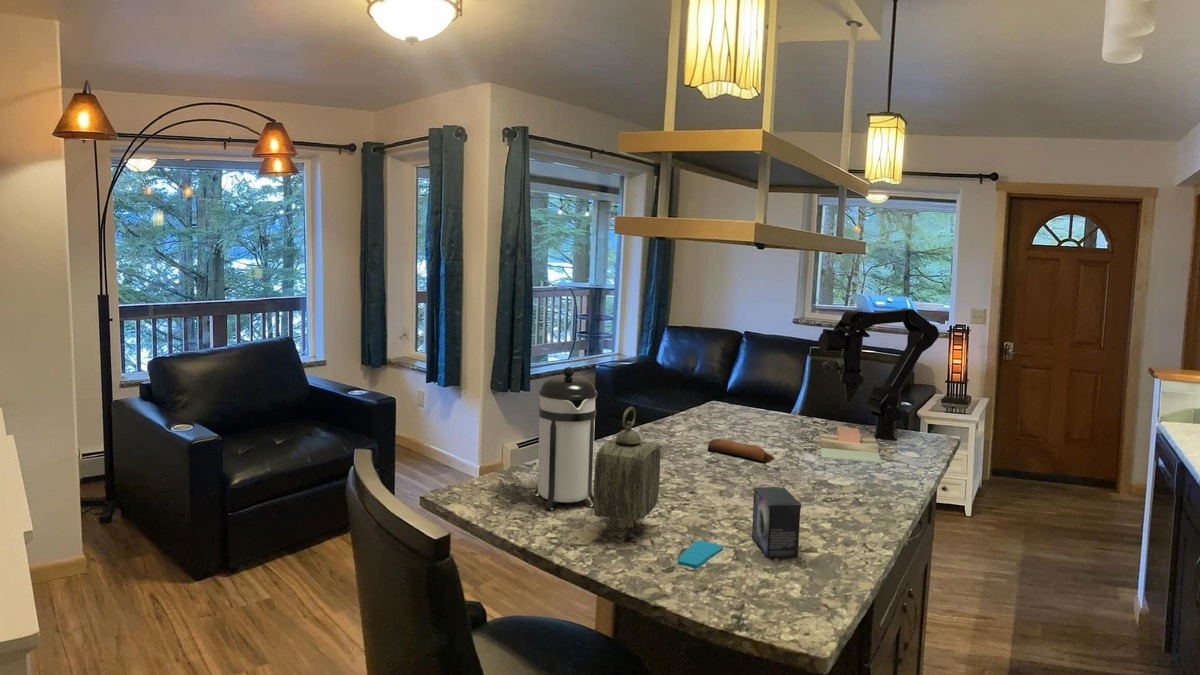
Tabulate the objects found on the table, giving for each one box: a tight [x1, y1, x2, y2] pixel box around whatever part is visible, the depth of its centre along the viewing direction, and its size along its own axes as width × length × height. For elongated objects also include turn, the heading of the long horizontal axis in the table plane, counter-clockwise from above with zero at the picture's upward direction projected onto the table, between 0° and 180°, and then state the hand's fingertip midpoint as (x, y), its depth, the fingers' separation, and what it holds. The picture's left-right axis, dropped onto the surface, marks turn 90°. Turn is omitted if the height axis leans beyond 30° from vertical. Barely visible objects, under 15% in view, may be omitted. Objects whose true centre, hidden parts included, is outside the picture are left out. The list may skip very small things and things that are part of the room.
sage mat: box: [820, 448, 883, 464], centre depth 218 cm, size 10×16×1 cm, turn 75°
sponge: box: [677, 540, 724, 569], centre depth 142 cm, size 2×12×6 cm
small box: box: [751, 486, 802, 559], centre depth 147 cm, size 11×6×10 cm, turn 5°
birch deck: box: [819, 432, 880, 453], centre depth 229 cm, size 12×16×2 cm
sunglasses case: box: [707, 438, 777, 464], centre depth 215 cm, size 18×7×7 cm
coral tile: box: [836, 426, 861, 443], centre depth 230 cm, size 9×6×2 cm, turn 165°
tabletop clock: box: [593, 406, 661, 538], centre depth 152 cm, size 14×9×25 cm, turn 159°
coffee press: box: [533, 366, 598, 511], centre depth 170 cm, size 17×16×30 cm
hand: (848, 401), depth 238 cm, fingers closed
